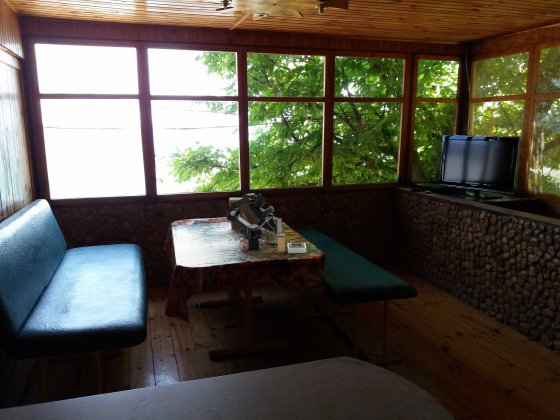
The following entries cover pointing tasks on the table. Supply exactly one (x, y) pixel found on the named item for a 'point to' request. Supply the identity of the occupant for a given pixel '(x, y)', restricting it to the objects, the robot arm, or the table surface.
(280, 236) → the plug
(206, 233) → the table surface
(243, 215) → the photo frame
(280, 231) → the coffee box
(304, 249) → the socket box
